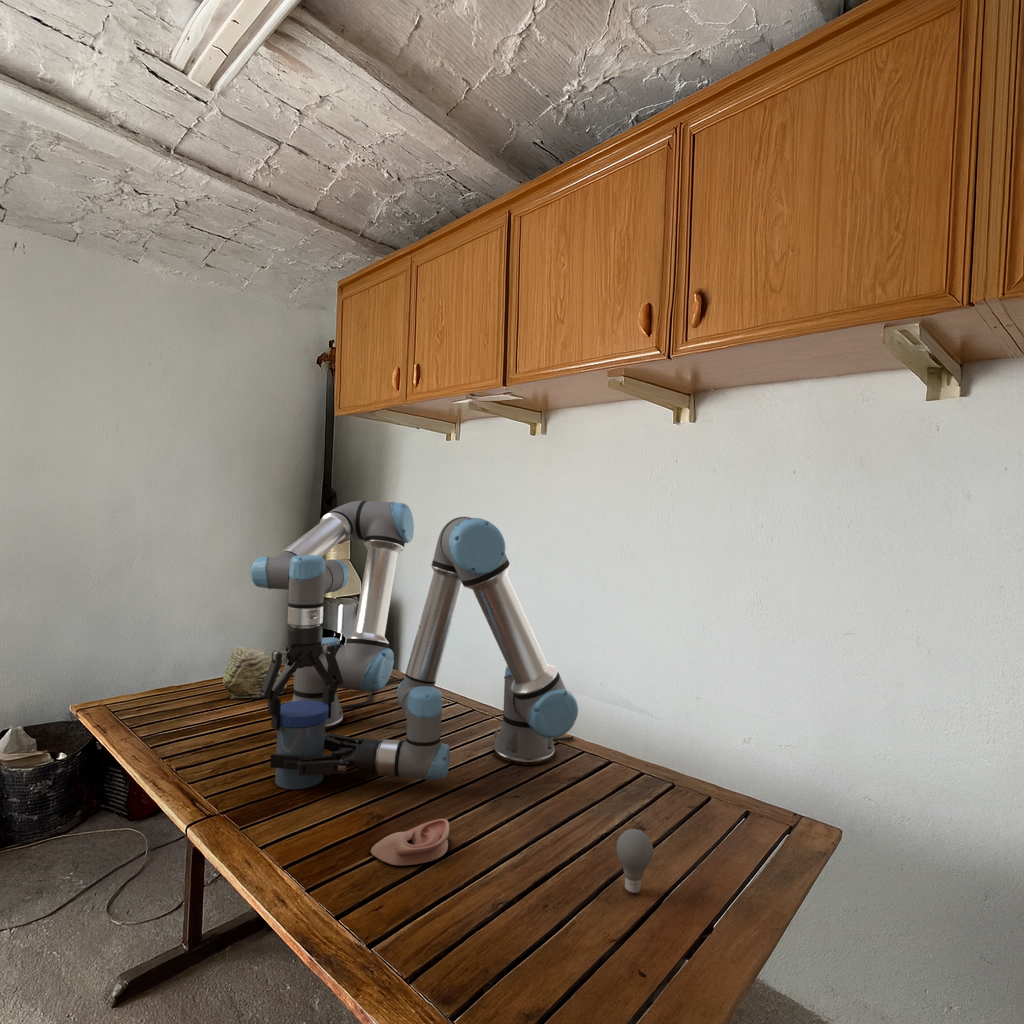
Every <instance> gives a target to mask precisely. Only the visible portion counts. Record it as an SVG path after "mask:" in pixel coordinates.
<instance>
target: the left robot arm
mask: <svg viewBox="0 0 1024 1024" xmlns="http://www.w3.org/2000/svg"><path fill="white" fill-rule="evenodd" d="M414 533H415V524H414V516H413V513H412V510H411V508H410V506H409V505H408V504H406V503H403V502H395V501H374V500H373V501H372V500H354V501H350V502H347V503H345V504H341V505H340V506H337V507H335V508H333V509H331V510H329V511H328V512H327V513H325V514H324V515H323V516H322V517H321V518H320V520H319V523H318V524H316V525H315V526H313V528H311V529H310V530H309V531H307V532H306V533H304V534H303V535H302V536H301V537H299V538H298V539H296V540H295V541H294V542H293V543H291V544H289V545H288V546H286V547H285V548H284V549H283V550H282V551H280V552H279V553H278V554H276V555H274V556H269V555H268V556H260V557H257V558H256V559H255V560H254V561H253V563H252V565H251V570H250V575H251V582H252V583H253V585H255V586H256V587H258V588H263V589H268V590H284V591H285V590H287V591H288V603H287V604H288V605H287V624H288V627H286V648H285V650H281V651H277V650H273V651H272V652H271V659H272V662H271V664H270V667H269V669H268V672H267V675H266V677H265V680H264V682H263V685H262V688H261V690H260V693H259V695H260V696H261V697H260V698H263V699H265V700H267V712H268V714H269V715H271V716H270V717H271V719H270V721H271V722H270V727H271V728H272V729H273V730H275V731H277V730H280V711H281V705H282V699H281V698H279V696H280V695H281V694H282V693H281V692H282V690H283V688H284V687H285V685H287V684H288V682H289V680H291V679H290V678H291V677H292V676H293V695H292V696H293V697H292V699H291V702H292V701H300V700H313V701H320V702H323V703H325V704H327V705H328V709H329V717H328V719H327V720H326V725H325V731H329V730H332V729H335V728H337V727H339V726H340V725H342V723H343V722H344V714H343V709H349V708H356V707H360V706H365V705H366V704H368V703H369V702H371V701H372V695H373V692H379V691H381V690H382V689H383V688H384V687H385V686H386V685H387V684H391V683H397V682H402V681H403V680H404V677H400V678H395V679H390V677H391V675H392V672H393V668H394V663H395V660H394V658H395V655H394V652H393V650H392V649H391V648H390V647H389V646H390V641H388V640H387V637H386V636H385V635H386V632H387V631H386V630H387V625H388V618H389V611H390V606H391V600H392V593H393V586H394V580H395V575H396V567H397V561H398V556H399V554H400V553H402V552H403V551H404V550H405V545H406V544H409V543H411V542H412V541H413V538H414ZM349 540H357V541H358V540H359V541H360V540H361V541H363V545H364V546H365V548H366V549H367V555H366V560H365V567H364V572H363V577H362V582H361V589H360V594H359V600H358V606H357V611H356V617H355V623H354V627H353V632H352V633H351V634H350V635H348V636H347V638H346V641H345V644H340V643H341V641H340V639H339V638H338V637H334V636H331V637H330V636H329V637H323V634H324V633H323V630H324V627H323V626H322V624H323V622H324V599H325V595H326V594H329V593H335V592H338V591H339V590H341V589H343V588H345V586H347V584H348V582H349V580H350V575H351V574H350V569H349V568H348V566H347V565H346V563H345V562H343V561H342V560H339V559H327V560H325V557H324V556H325V555H326V554H327V553H328V552H330V551H331V550H332V549H333V548H335V547H336V546H337V545H341V544H344V543H346V542H347V541H349ZM285 658H286V659H287V661H286V662H285V664H284V665H283V669H282V670H281V667H282V664H283V663H282V662H284V661H285ZM279 670H280V672H281V674H280V675H279V677H278V679H277V680H276V678H277V675H278V672H279ZM275 680H276V682H275ZM338 689H339V690H340V689H341V690H351V691H359V692H365V693H366V692H369V693H368V695H367V699H366V700H363V701H361V702H356V703H351V704H344V705H341V702H340V699H339V695H338Z"/></svg>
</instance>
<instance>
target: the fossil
mask: <svg viewBox="0 0 1024 1024" xmlns="http://www.w3.org/2000/svg"><path fill="white" fill-rule="evenodd" d="M271 662H272V657H270V656H269V655H268V654H267V653H266V652H265V650H264V649H263V648H260V647H258V648H251V647H247V646H246V647H245V646H238V647H237V648H236V649H235V650H233V651H232V653H231V656H230V657H229V659H228V660H227V663H226V666H225V668H224V671H223V675H222V676H223V677H222V685H223V687H224V688H225V690H226V691H228V693H229V698H230V699H250V698H262V697H261V696H260V695H259V693H260V690H261V688H262V685H263V682H264V680H265V677H266V675H267V672H268V669H269V667H270V664H271ZM281 672H282V671H281V669H280V670H279V672H278V675H277V678H276V680H277V679H278V677H279V675H280V674H281ZM276 680H275V682H276ZM287 687H288V686H287V684H286V685H285V687H284V688H283V690H282V692H281V693H280V694H284V693H285V691H286V689H287Z"/></svg>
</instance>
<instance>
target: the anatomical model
mask: <svg viewBox="0 0 1024 1024" xmlns="http://www.w3.org/2000/svg"><path fill="white" fill-rule="evenodd" d="M449 835H450V823H449V821H448V819H446V818H437V819H434V820H430V821H427V822H425V823H421V824H419V825H417V826H415V827H413V828H411V829H407V830H405V831H398V832H393V833H391V834H389V835H387V836H384V837H383V838H382V839H380V840H379V841H377V842H376V843H375V844H374V845H373V846H372V847H371V849H370V853H371V855H372V856H374V858H377V859H378V860H380V861H381V862H383V863H386V864H388V865H392V866H399V867H400V866H412V865H419V864H420V865H421V864H425V863H428V862H432V861H435V860H438V859H439V858H441V857H443V856H444V855H445V854H446V853H447V851H448V849H449V841H448V837H449Z"/></svg>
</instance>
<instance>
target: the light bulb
mask: <svg viewBox="0 0 1024 1024" xmlns="http://www.w3.org/2000/svg"><path fill="white" fill-rule="evenodd" d="M615 849H616V854H617V857H618V859H619V861H620V863H621V865H622V867H623V873H624V874H623V875H624V876H625V878H624V888H625V890H627V891H628V892H630V893H634V894H635V893H639V892H640V891H641V889H642V887H641V886H642V879H643V877H644V875H645V871H646V868H647V867H648V866H649V864H650V863H651V861H652V859H653V855H654V847H653V843H652V841H651V838H649V836H648V835H647V834H646V833H645V832H643V831H642V830H641V829H636V828H629V829H627V830H625V831H623V832H622V833H621V834H620V835H619V837H618V839H617V841H616V847H615Z"/></svg>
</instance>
